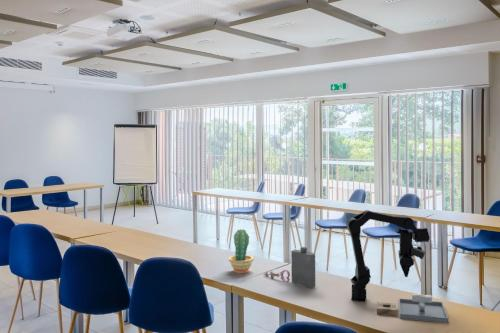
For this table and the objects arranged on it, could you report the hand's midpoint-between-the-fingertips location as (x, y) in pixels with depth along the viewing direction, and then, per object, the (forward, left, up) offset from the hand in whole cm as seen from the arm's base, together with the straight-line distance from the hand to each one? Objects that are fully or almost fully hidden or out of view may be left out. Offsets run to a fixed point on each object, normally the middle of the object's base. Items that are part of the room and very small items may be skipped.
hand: (405, 274), depth 209 cm
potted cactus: (-92, +24, -12) cm, 96 cm away
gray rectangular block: (+6, -16, -12) cm, 20 cm away
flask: (-52, +9, -12) cm, 54 cm away
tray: (+6, -16, -12) cm, 21 cm away
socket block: (-9, -19, -12) cm, 24 cm away
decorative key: (-68, +15, -12) cm, 71 cm away
